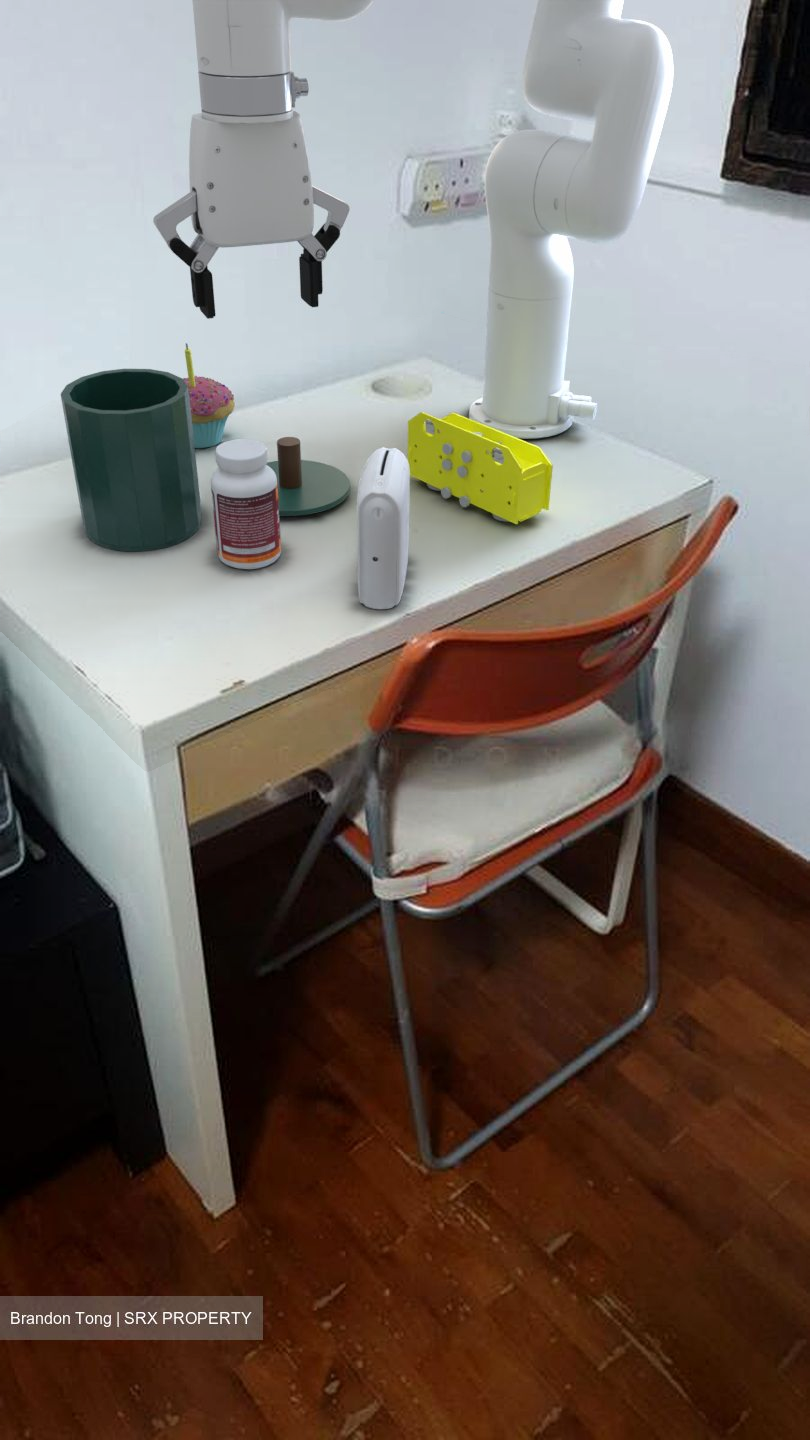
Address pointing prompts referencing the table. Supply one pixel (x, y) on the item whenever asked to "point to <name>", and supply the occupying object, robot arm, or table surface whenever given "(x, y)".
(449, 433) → the yellow toy chassis
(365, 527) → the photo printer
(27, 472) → the table surface
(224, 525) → the pill bottle
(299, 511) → the tin lid
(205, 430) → the cupcake
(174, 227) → the robot arm
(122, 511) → the tin
